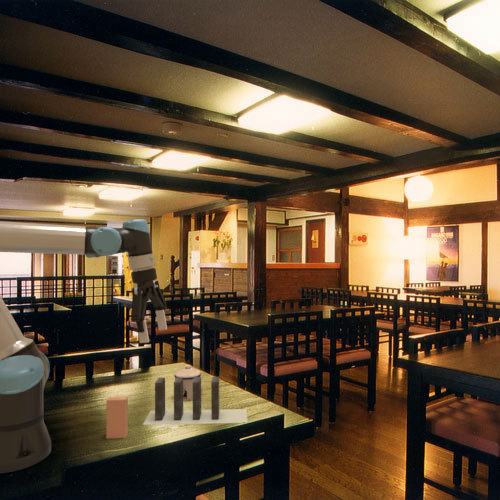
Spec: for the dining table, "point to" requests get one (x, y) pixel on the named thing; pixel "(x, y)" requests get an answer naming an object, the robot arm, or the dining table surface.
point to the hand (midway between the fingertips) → (154, 335)
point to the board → (205, 417)
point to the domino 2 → (159, 399)
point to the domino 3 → (178, 398)
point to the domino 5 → (215, 398)
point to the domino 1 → (117, 417)
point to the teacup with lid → (188, 381)
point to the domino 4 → (196, 398)
